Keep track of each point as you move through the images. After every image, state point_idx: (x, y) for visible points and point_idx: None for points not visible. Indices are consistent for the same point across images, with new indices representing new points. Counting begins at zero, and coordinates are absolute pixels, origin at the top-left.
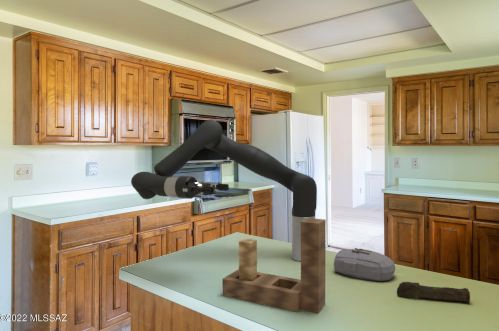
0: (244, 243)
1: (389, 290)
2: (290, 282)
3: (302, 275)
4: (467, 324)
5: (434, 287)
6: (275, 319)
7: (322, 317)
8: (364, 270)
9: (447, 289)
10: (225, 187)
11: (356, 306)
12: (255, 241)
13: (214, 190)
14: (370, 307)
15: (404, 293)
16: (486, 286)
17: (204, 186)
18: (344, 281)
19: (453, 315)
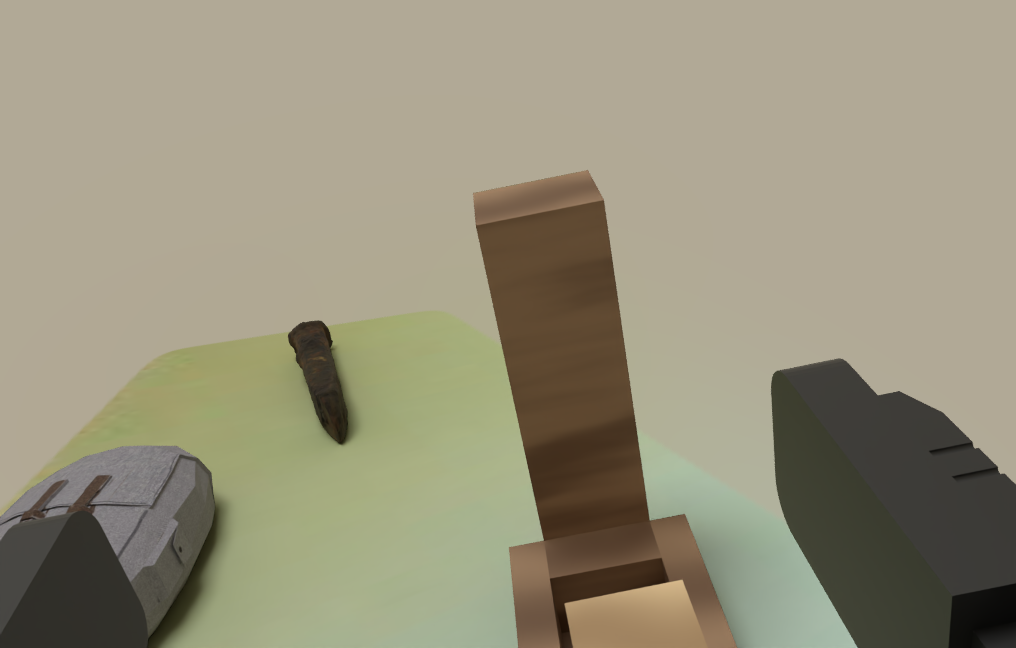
0: (700, 636)
1: (297, 470)
2: (556, 621)
3: (637, 452)
4: (460, 328)
5: (314, 360)
6: (827, 608)
7: (663, 510)
8: (197, 515)
9: (317, 344)
10: (100, 616)
11: (498, 482)
12: (592, 602)
13: (776, 442)
14: (481, 457)
15: (345, 417)
16: (179, 356)
17: (1007, 540)
18: (247, 601)
19: (421, 349)
